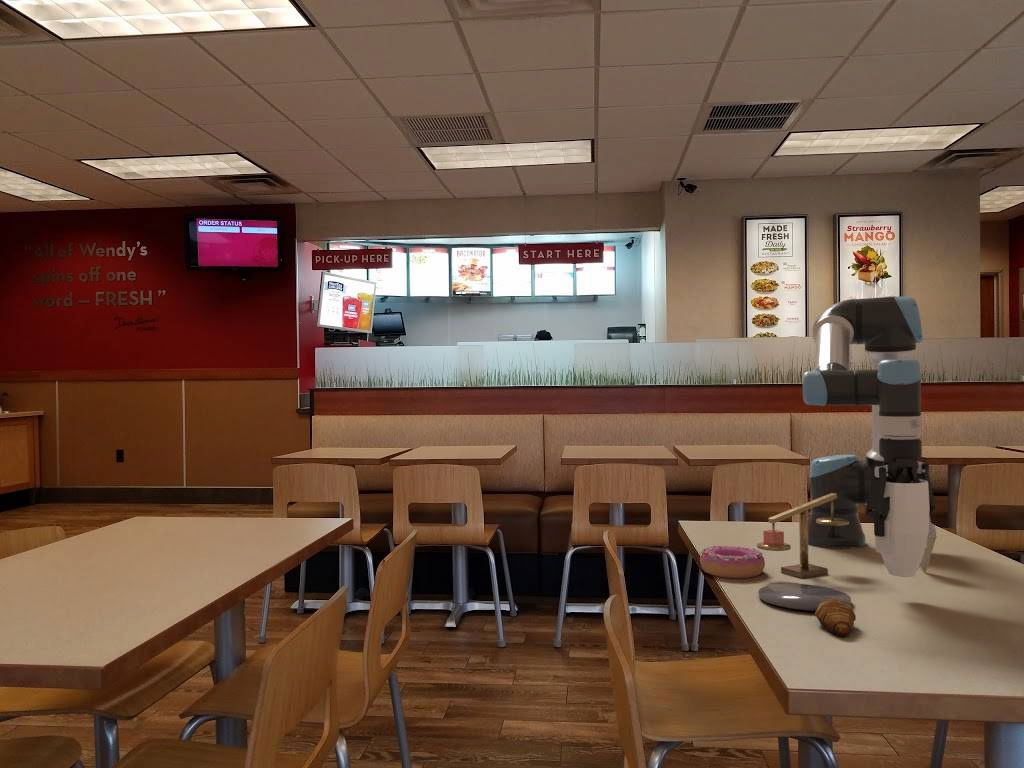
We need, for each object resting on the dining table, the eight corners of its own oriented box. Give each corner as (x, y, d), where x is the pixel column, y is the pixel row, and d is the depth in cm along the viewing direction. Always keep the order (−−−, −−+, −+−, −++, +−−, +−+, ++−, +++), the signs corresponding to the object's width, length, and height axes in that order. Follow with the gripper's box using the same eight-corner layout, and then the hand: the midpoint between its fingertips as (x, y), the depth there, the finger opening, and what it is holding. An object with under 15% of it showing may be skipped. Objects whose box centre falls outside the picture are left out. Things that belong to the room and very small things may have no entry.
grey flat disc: (740, 596, 154) (740, 590, 154) (802, 585, 161) (802, 579, 161) (805, 618, 138) (805, 612, 138) (871, 606, 146) (870, 599, 146)
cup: (909, 599, 144) (907, 485, 143) (861, 586, 153) (860, 479, 153) (944, 591, 148) (942, 481, 148) (895, 579, 158) (894, 475, 157)
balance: (774, 583, 163) (772, 502, 163) (750, 576, 169) (749, 498, 169) (856, 570, 174) (855, 494, 174) (831, 563, 180) (830, 490, 180)
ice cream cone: (936, 570, 172) (935, 504, 172) (938, 575, 168) (937, 507, 168) (911, 568, 174) (910, 503, 174) (912, 573, 170) (911, 506, 170)
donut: (775, 571, 174) (775, 549, 174) (747, 584, 164) (746, 560, 164) (718, 562, 184) (718, 541, 184) (687, 573, 174) (687, 551, 174)
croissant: (865, 640, 127) (865, 610, 127) (822, 638, 128) (822, 608, 128) (846, 616, 140) (846, 589, 140) (807, 614, 141) (807, 587, 141)
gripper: (876, 441, 142) (878, 560, 142) (955, 435, 152) (957, 546, 152) (843, 439, 149) (845, 552, 149) (921, 433, 159) (922, 539, 159)
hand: (901, 549), depth 151 cm, fingers closed on cup, 10 cm apart
